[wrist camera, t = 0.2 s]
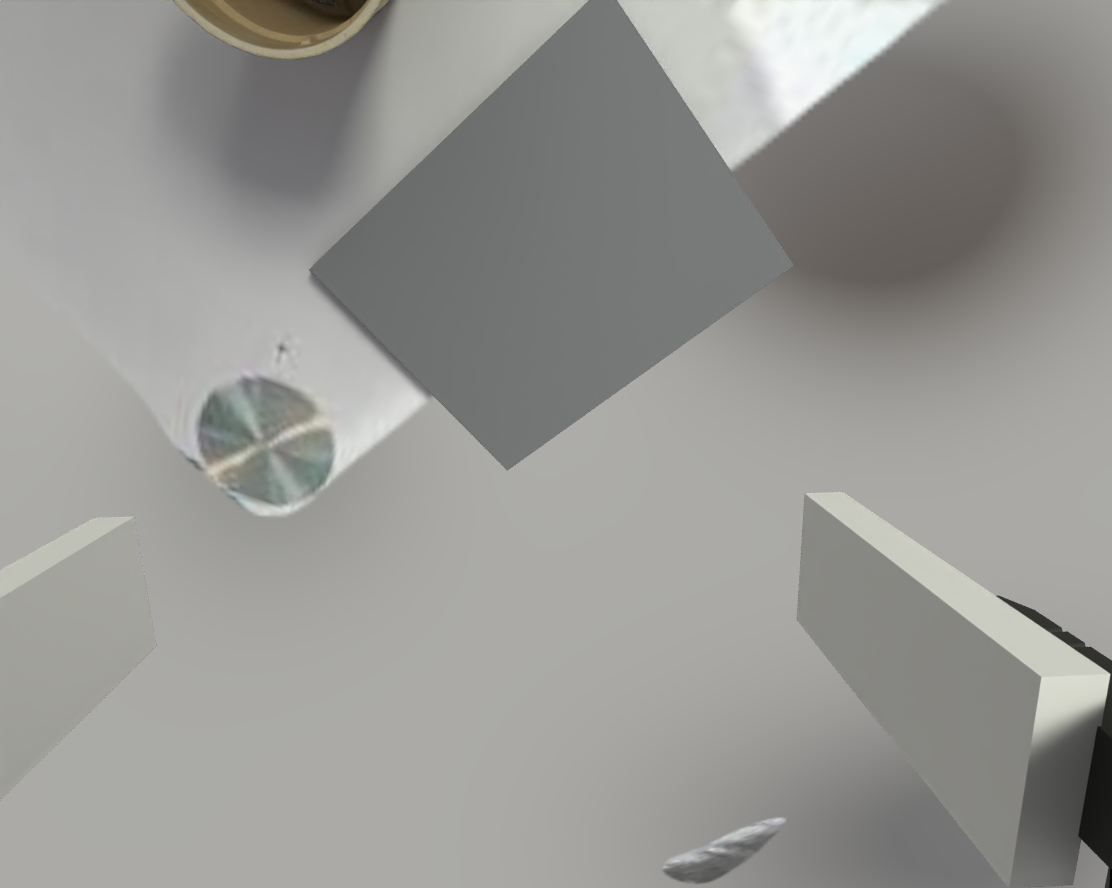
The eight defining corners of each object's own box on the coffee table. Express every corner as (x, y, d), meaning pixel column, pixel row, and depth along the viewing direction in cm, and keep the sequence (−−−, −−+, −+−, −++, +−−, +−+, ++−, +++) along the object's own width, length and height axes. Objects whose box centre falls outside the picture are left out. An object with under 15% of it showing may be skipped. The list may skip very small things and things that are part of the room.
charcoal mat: (605, -15, 32) (605, -16, 31) (789, 261, 37) (793, 265, 37) (313, 265, 38) (308, 269, 37) (508, 463, 44) (507, 470, 43)
